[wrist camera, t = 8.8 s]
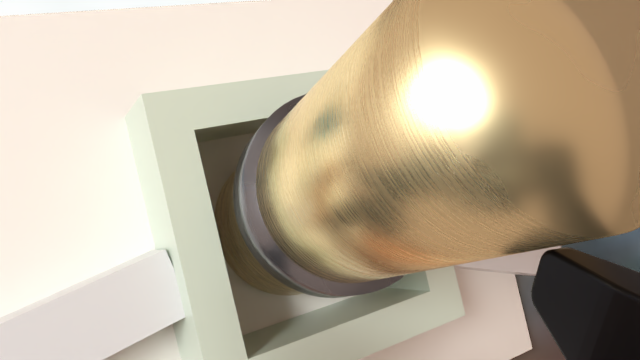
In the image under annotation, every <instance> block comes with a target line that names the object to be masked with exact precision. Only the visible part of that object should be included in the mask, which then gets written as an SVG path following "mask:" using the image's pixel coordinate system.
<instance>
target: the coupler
mask: <svg viewBox="0 0 640 360" xmlns="http://www.w3.org/2000/svg"><path fill="white" fill-rule="evenodd" d="M214 217H215V221H216V226H217V230H218V234H219V238H220V243H221V247H222V251H223V256H224V259H225V260H226V262H227V263H228V265H229V266H230V267H231V269H232V270H233V271H234V272H235V273H236V274H237V275H238V276H239V277H240V278H241V279H242V280H244V281H245V282H246V283H248V284H249V285H251V286H253V287H255V288H257V289H259V290H261V291H264V292H267V293H270V294H275V295H286V296H289V295H298V294H307V295H311V296H316V297H322V298H339V297H348V296H355V295H362V294H367V293H371V292H375V291H379V290H381V289H383V288H386V287H388V286H390V285H392V284H393V283H395V282H396V281H398V280H400V279H401V278H402V277H403V276H404V275H406V274H411V273H416V272H422V271H427V270H432V269H438V268H443V267H448V266H454V265H459V264H464V263H470V262H475V261H481V260H486V259H491V258H497V257H502V256H507V255H513V254H518V253H523V252H529V251H534V250H539V249H545V248H550V247H556V246H561V245H566V244H572V243H577V242H582V241H588V240H593V239H598V238H604V237H609V236H614V235H619V234H622V233H626V232H630V231H633V230H635V229H637V228H639V227H640V0H393V1H392V2H391V4H390V5H389V6H388V7H387V8H386V9H385V10H384V11H383V12H382V13H381V14H380V15H379V16H378V17H377V19H376V20H375V21H374V22H373V23H372V24H371V25H370V26H369V27H368V28H367V29H366V30H365V31H364V33H363V34H362V35H361V36H360V37H359V38H358V39H357V40H356V41H355V42H354V43H353V44H352V45H351V46H350V48H349V49H348V50H347V51H346V52H345V53H344V54H343V55H342V56H341V57H340V58H339V59H338V60H337V61H336V63H335V64H334V65H333V66H332V67H331V68H330V69H329V70H328V71H327V72H326V73H325V74H324V75H323V77H322V78H321V79H320V80H319V81H318V82H317V83H316V84H315V85H314V86H313V87H312V88H311V89H310V90H309V92H308V93H307V94H305V95H302V96H299V97H297V98H294V99H292V100H291V101H289V102H287V103H285V104H284V105H282V106H281V107H280V108H278V109H277V110H276V111H275V112H273V113H272V114H271V115H270V117H269V118H268V119H267V120H266V121H265V122H264V123H263V124H262V125H261V127H260V128H259V129H258V130H257V131H256V132H255V134H254V135H253V136H252V137H251V139H250V140H249V142H248V143H247V144H246V146H245V148H244V150H243V152H242V154H241V156H240V158H239V161H238V164H237V167H236V170H235V171H234V172H233V173H232V174H231V175H230V176H229V178H228V179H227V181H226V182H225V183H224V185H223V187H222V189H221V191H220V193H219V196H218V199H217V202H216V207H215V214H214Z"/></svg>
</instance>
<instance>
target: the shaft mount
mask: <svg viewBox="0 0 640 360" xmlns="http://www.w3.org/2000/svg"><path fill="white" fill-rule="evenodd" d="M392 1H393V0H259V1H243V2H226V3H209V4H193V5H176V6H160V7H143V8H126V9H110V10H93V11H77V12H60V13H43V14H27V15H10V16H0V360H510V359H512V358H514V357H516V356H518V355H520V354H522V353H524V352H526V351H529V350H531V349H532V345H531V341H530V336H529V332H528V328H527V324H526V320H525V315H524V311H523V307H522V303H521V299H520V295H519V290H518V286H517V282H516V278H515V274H517V275H531V276H536V272H537V269H538V265H539V262H540V258H541V256H542V255H543V253H544V252H546V251H547V250H551V249H558V248H561V246H556V247H550V248H545V249H539V250H534V251H529V252H523V253H518V254H513V255H507V256H502V257H497V258H491V259H486V260H481V261H475V262H470V263H464V264H459V265H454V266H448V267H443V268H438V269H432V270H427V271H422V272H416V273H411V274H406V275H404V276H403V277H402V278H401V279H400V280H398V281H396V282H395V283H393V284H392V285H390V286H388V287H386V288H383V289H381V290H379V291H375V292H371V293H367V294H362V295H355V296H348V297H339V298H322V297H316V296H311V295H307V294H298V295H289V296H286V295H275V294H270V293H267V292H264V291H261V290H259V289H257V288H255V287H253V286H251V285H249V284H248V283H246V282H245V281H244V280H242V279H241V278H240V277H239V276H238V275H237V274H236V273H235V272H234V271H233V270H232V269H231V267H230V266H229V265H228V263H227V262H226V260H225V259H224V256H223V251H222V247H221V243H220V238H219V234H218V230H217V226H216V221H215V217H214V214H215V207H216V202H217V199H218V196H219V193H220V191H221V189H222V187H223V185H224V183H225V182H226V181H227V179H228V178H229V176H230V175H231V174H232V173H233V172H234V171H235V170H236V167H237V164H238V161H239V158H240V156H241V154H242V152H243V150H244V148H245V146H246V144H247V143H248V142H249V140H250V139H251V137H252V136H253V135H254V134H255V132H256V131H257V130H258V129H259V128H260V127H261V125H262V124H263V123H264V122H265V121H266V120H267V119H268V118H269V117H270V115H271V114H272V113H273V112H275V111H276V110H277V109H278V108H280V107H281V106H282V105H284V104H285V103H287V102H289V101H291V100H292V99H294V98H297V97H299V96H302V95H305V94H307V93H308V92H309V90H310V89H311V88H312V87H313V86H314V85H315V84H316V83H317V82H318V81H319V80H320V79H321V78H322V77H323V75H324V74H325V73H326V72H327V71H328V70H329V69H330V68H331V67H332V66H333V65H334V64H335V63H336V61H337V60H338V59H339V58H340V57H341V56H342V55H343V54H344V53H345V52H346V51H347V50H348V49H349V48H350V46H351V45H352V44H353V43H354V42H355V41H356V40H357V39H358V38H359V37H360V36H361V35H362V34H363V33H364V31H365V30H366V29H367V28H368V27H369V26H370V25H371V24H372V23H373V22H374V21H375V20H376V19H377V17H378V16H379V15H380V14H381V13H382V12H383V11H384V10H385V9H386V8H387V7H388V6H389V5H390V4H391V2H392Z"/></svg>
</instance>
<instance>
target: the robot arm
mask: <svg viewBox="0 0 640 360" xmlns="http://www.w3.org/2000/svg"><path fill="white" fill-rule="evenodd" d="M531 296H532V301H533V304H534V306H535V308H536V310H537V311H538V313H539V315H540V317H541V318H542V320H543V322H544V323H545V325H546V327H547V328H548V330H549V332H550V333H551V335H552V337H553V338H554V340H555V342H556V343H557V345H558V347H559V349H560V350H561V352H562V354H563V355H564V357H565V359H566V360H640V273H639V272H636V271H634V270H631V269H628V268H625V267H622V266H620V265H617V264H614V263H611V262H609V261H606V260H603V259H600V258H597V257H595V256H592V255H589V254H586V253H583V252H581V251H578V250H575V249H572V248H558V249H551V250H547V251H546V252H544V253H543V255H542V256H541V258H540V262H539V265H538V269H537V272H536V276H535V279H534V283H533V286H532V291H531Z"/></svg>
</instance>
